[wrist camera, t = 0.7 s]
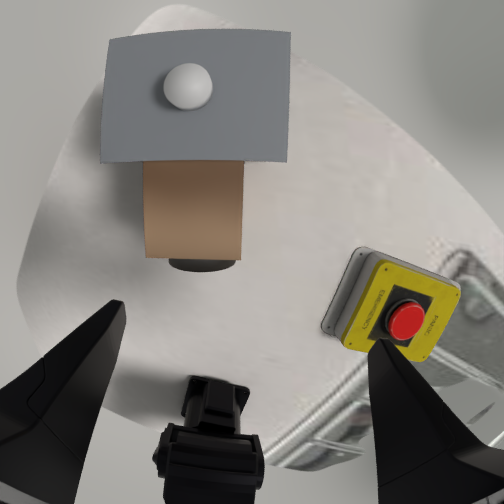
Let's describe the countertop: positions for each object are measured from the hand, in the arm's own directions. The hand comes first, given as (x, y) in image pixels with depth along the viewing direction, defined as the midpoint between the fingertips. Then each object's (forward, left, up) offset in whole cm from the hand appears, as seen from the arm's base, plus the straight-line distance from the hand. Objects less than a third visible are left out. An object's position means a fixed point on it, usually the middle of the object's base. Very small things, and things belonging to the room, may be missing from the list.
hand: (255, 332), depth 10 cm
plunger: (+1, +3, -16) cm, 17 cm away
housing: (+8, +5, -17) cm, 19 cm away
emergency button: (-3, -17, -17) cm, 25 cm away
